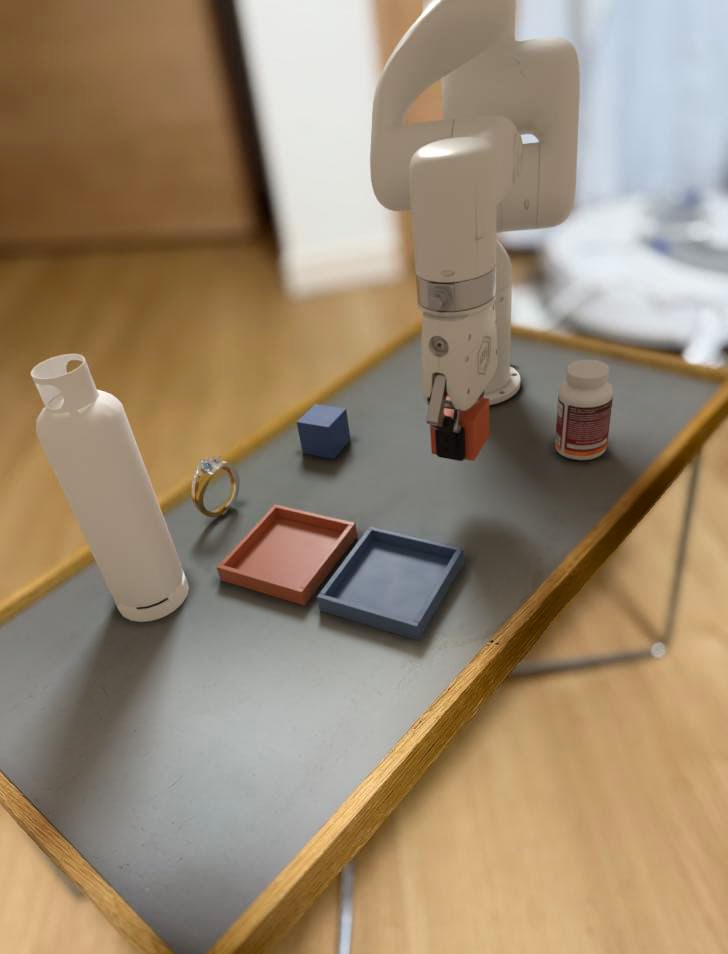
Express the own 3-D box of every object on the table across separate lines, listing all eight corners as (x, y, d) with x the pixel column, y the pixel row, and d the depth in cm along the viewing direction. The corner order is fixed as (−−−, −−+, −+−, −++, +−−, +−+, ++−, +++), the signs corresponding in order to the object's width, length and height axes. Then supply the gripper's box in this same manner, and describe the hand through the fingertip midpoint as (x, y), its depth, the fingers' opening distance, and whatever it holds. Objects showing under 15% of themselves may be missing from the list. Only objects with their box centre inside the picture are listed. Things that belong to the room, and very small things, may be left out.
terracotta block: (448, 430, 82) (446, 392, 79) (489, 436, 80) (489, 398, 77) (431, 453, 79) (429, 415, 76) (473, 461, 77) (473, 422, 74)
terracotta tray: (277, 516, 87) (274, 503, 85) (357, 536, 82) (355, 522, 80) (220, 580, 79) (216, 567, 78) (304, 606, 74) (301, 592, 73)
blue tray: (371, 539, 81) (369, 525, 80) (464, 561, 76) (463, 547, 74) (319, 610, 73) (316, 596, 72) (418, 640, 68) (417, 626, 67)
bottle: (102, 611, 78) (-9, 383, 60) (147, 565, 83) (56, 342, 65) (160, 629, 74) (59, 392, 57) (202, 579, 80) (122, 348, 62)
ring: (235, 495, 92) (221, 443, 87) (251, 502, 90) (238, 450, 85) (194, 523, 88) (177, 470, 83) (210, 532, 86) (193, 478, 81)
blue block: (320, 434, 100) (314, 403, 97) (350, 440, 98) (346, 408, 95) (302, 453, 97) (296, 422, 94) (333, 459, 95) (328, 427, 92)
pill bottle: (617, 448, 87) (628, 366, 80) (582, 468, 85) (591, 386, 78) (577, 430, 92) (585, 351, 85) (543, 448, 90) (548, 369, 83)
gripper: (460, 329, 61) (464, 494, 73) (521, 253, 71) (517, 408, 83) (382, 322, 64) (398, 481, 76) (451, 251, 74) (456, 400, 86)
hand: (460, 441), depth 79 cm, fingers closed on terracotta block, 5 cm apart
